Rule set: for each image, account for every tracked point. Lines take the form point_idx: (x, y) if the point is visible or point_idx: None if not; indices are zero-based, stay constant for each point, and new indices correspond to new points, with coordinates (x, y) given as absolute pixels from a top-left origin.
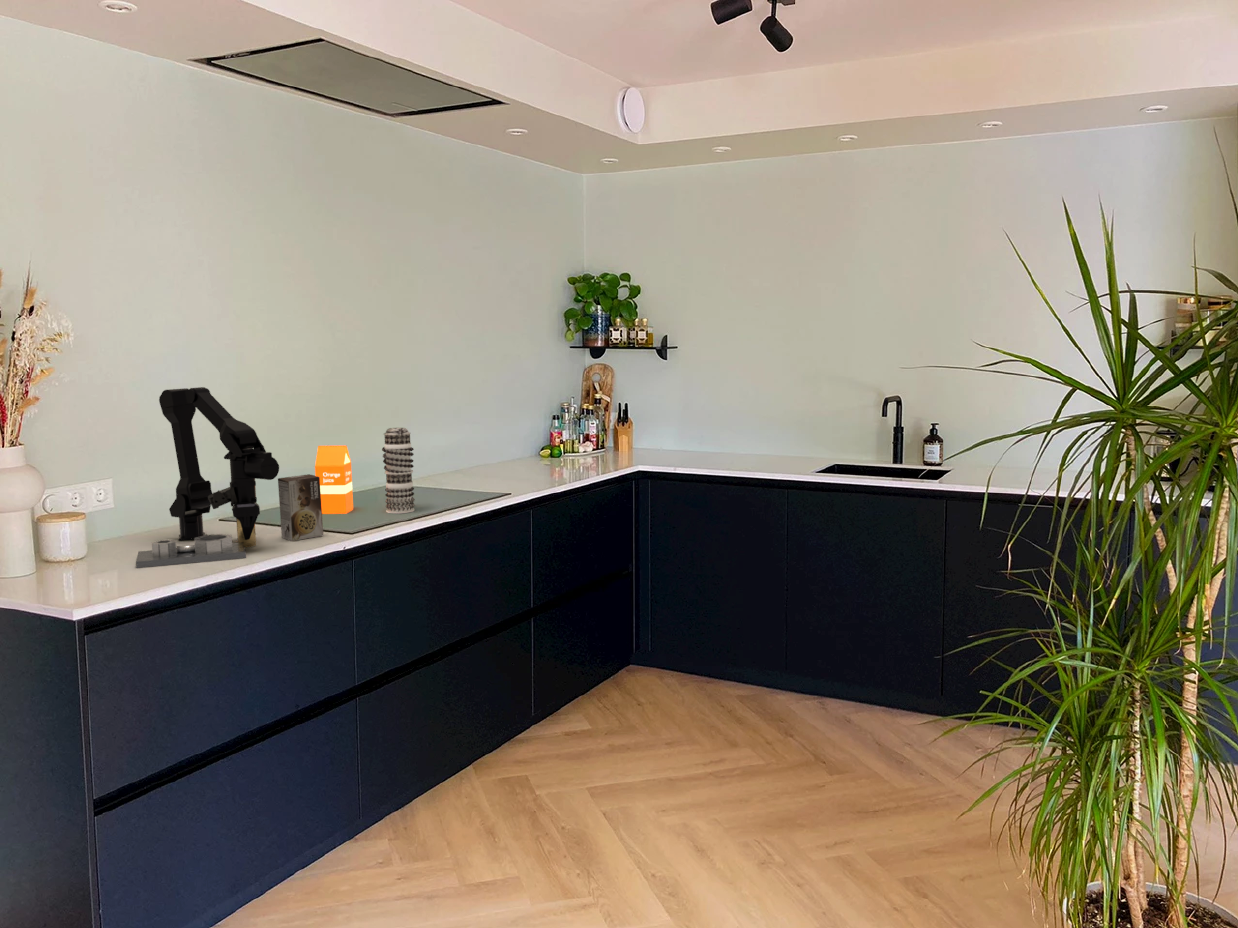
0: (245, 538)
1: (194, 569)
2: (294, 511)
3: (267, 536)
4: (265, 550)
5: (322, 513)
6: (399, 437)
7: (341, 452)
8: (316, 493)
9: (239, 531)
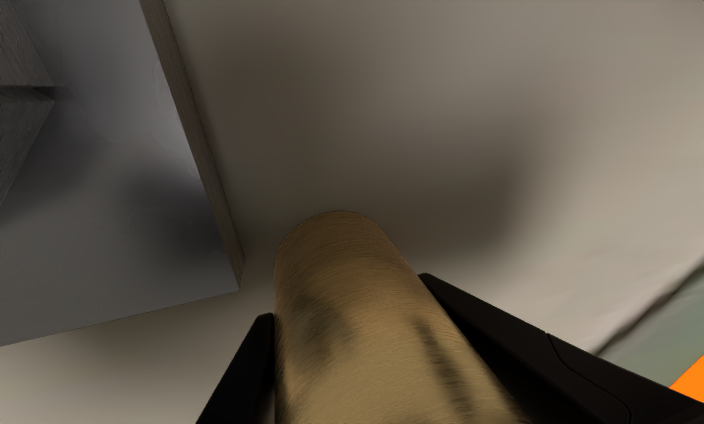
0: (254, 326)
1: None
2: None
3: (519, 304)
4: (137, 394)
5: (701, 359)
6: None
7: None
8: None
9: (296, 332)
